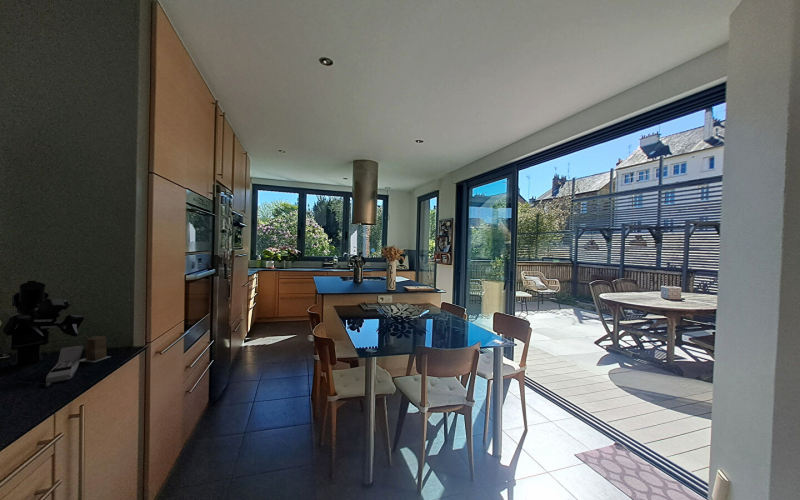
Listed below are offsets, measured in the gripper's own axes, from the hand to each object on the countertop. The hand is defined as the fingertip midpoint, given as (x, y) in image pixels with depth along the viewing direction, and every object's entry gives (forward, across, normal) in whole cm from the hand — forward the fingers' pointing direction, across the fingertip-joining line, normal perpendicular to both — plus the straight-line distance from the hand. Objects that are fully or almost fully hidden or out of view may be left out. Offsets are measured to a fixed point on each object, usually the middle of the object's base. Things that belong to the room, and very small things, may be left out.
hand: (60, 336), depth 104 cm
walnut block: (+1, +15, +10) cm, 18 cm away
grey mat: (+1, +15, +11) cm, 18 cm away
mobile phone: (+5, +4, +12) cm, 14 cm away
